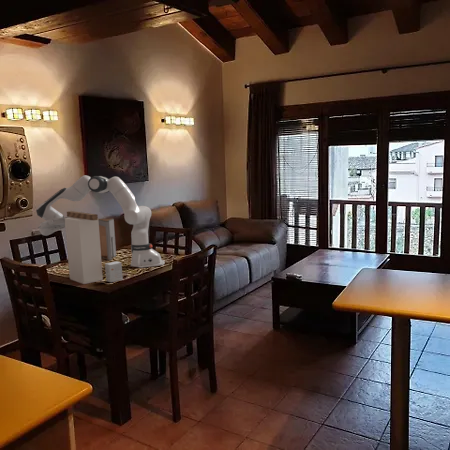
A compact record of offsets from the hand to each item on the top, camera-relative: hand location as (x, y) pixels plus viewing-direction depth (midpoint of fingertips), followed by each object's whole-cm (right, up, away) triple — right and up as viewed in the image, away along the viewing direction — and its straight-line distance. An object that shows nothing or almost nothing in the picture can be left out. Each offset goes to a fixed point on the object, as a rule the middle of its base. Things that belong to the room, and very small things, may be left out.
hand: (60, 219), depth 296 cm
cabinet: (+20, -27, +45) cm, 56 cm away
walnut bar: (+20, +1, -22) cm, 30 cm away
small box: (+39, -36, -20) cm, 57 cm away
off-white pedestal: (+21, -36, -16) cm, 45 cm away
